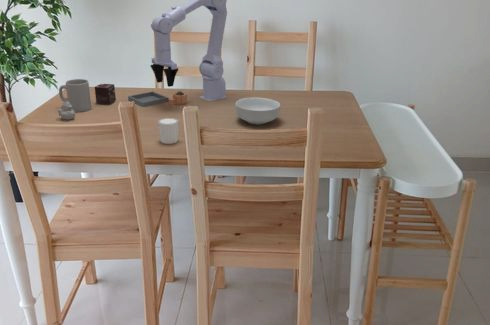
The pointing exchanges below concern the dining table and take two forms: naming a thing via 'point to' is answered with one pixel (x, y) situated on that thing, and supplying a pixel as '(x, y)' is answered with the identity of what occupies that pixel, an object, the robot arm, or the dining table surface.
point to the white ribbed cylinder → (168, 130)
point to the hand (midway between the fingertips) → (165, 84)
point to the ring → (178, 99)
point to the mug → (77, 94)
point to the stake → (181, 104)
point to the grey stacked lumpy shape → (66, 111)
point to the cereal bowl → (257, 110)
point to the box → (105, 94)
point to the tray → (148, 99)
